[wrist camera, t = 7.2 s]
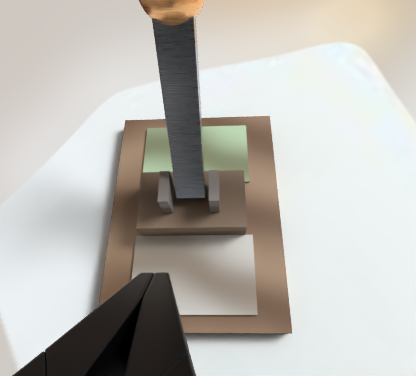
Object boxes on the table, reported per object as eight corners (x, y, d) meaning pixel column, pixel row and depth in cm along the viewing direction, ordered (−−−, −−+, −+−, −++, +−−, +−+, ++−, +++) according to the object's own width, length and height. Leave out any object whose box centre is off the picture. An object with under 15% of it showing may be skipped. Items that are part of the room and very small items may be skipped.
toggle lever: (214, 206, 18) (203, -64, 10) (164, 207, 18) (119, -59, 11) (214, 178, 20) (206, -59, 13) (171, 179, 20) (138, -54, 13)
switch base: (288, 332, 19) (309, 336, 14) (101, 332, 19) (62, 335, 15) (268, 123, 25) (277, 79, 21) (128, 127, 26) (108, 85, 21)
